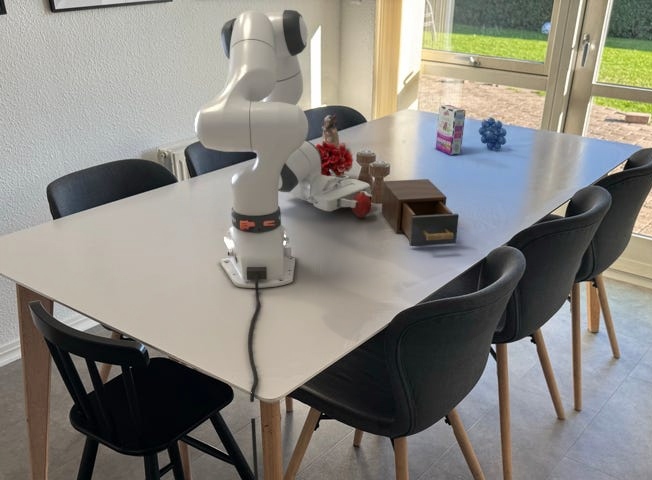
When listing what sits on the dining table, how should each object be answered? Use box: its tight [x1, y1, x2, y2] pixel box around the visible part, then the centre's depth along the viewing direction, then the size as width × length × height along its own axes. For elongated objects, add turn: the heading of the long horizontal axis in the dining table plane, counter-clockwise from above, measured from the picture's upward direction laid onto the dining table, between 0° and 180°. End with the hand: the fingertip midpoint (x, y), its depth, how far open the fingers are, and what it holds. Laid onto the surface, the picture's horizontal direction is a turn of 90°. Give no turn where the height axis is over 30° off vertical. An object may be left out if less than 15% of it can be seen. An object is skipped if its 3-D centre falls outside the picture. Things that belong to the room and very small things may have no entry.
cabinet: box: [381, 178, 447, 234], centre depth 202 cm, size 17×14×10 cm
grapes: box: [478, 116, 507, 151], centre depth 270 cm, size 12×7×12 cm, turn 55°
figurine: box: [320, 114, 340, 147], centre depth 272 cm, size 7×7×12 cm
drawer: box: [400, 200, 460, 247], centre depth 189 cm, size 21×13×8 cm, turn 11°
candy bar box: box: [435, 104, 466, 156], centre depth 266 cm, size 11×5×16 cm, turn 25°
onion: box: [350, 191, 372, 219], centre depth 204 cm, size 6×6×8 cm
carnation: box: [315, 142, 354, 176], centre depth 241 cm, size 16×18×35 cm
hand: (363, 201), depth 203 cm, fingers closed on onion, 5 cm apart
